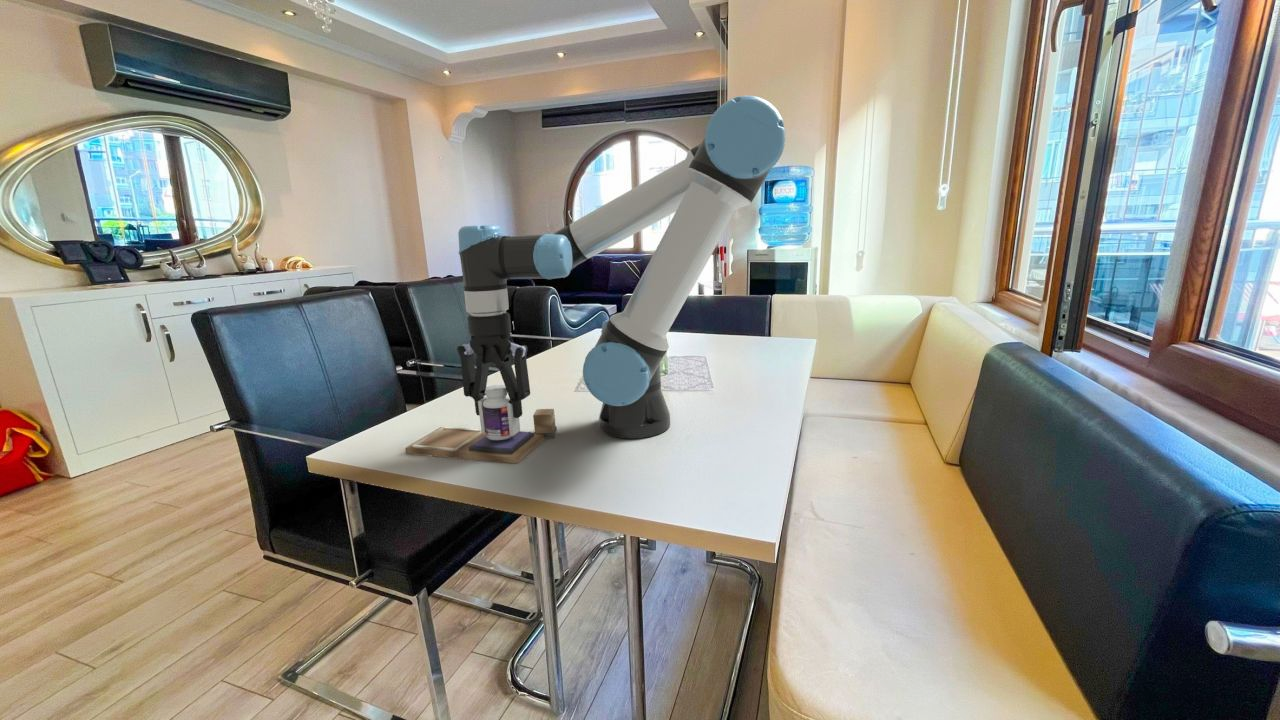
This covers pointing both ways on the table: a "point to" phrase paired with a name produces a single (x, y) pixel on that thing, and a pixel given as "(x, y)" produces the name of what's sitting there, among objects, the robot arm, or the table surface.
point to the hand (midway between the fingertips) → (501, 431)
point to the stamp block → (545, 422)
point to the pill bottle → (496, 413)
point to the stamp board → (475, 445)
